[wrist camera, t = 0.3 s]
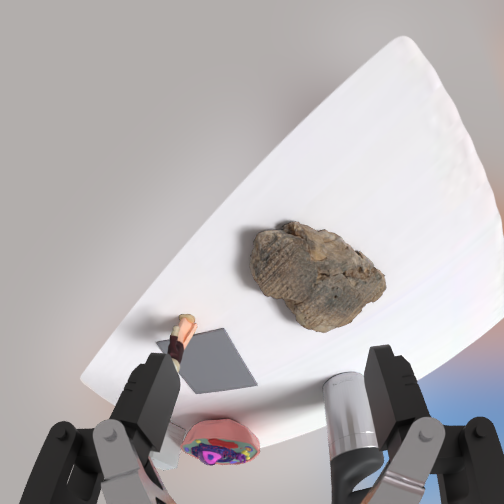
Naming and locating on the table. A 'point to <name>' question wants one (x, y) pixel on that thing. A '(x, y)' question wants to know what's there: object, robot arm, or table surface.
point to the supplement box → (169, 449)
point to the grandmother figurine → (181, 338)
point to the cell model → (221, 442)
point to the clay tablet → (315, 275)
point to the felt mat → (212, 363)
